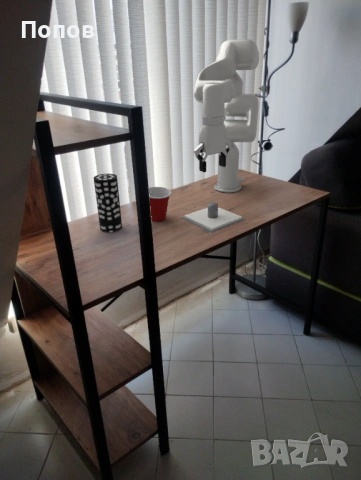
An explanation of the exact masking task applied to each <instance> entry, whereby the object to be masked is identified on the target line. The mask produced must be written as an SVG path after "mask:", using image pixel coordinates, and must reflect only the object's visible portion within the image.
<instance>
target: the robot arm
mask: <svg viewBox="0 0 361 480" xmlns="http://www.w3.org/2000/svg"><path fill="white" fill-rule="evenodd" d="M259 62H260V52H259V47H258V46H257V44H256V42H255V41H254V40H252V39H249V38H248V39H247V38H246V39H245V38H244V39H228V40H227V39H226V40H224V41H223V42H221V44H220V45H219V48H218V51H217V54H216V58H215V60H214V61H213V62H212V63H211V64H209V65H207V66H206V67H204V68H203V69H202V70H201V71H199V73H198V75H197V78H196V80H195V84H194V88H193V96H194V98H195V101H197V102H198V103H202V125H200V128H199V132H198V133H199V134H198V145H197V147H196V148H194V149H193V153H194V156H195V158H196V159H197V161H199V162H198V163H199V165H198V168H199V172H203V173H207V161H206V160H207V158H208V156H211V155H216V154H217V183H215V184H214V186H213V189H214V190H215V191H217V192H220V193H227V194H228V193H236V192H239V191H241V189H242V186H241V185H240V183H242V182H245V177H244V176H242V177H239V167H240V166H239V164H240V151H239V148H238V146H237V145H236V143H252V142H254V141H255V140H256V137H257V130H258V119H259V118H258V117H259V109H260V108H259V106H260V105H259V98H258V96H257V95H256V94H253V93H243V89H244V87H243V86H244V80H243V79H242V77H241V76H240V74H239V73H238V72H237V71H253V70H256V69H257V67H258V66H259ZM226 117H233V118H234V117H236V118H238V117H239V118H246V119H233V118H232V119H227V118H226Z"/></svg>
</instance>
